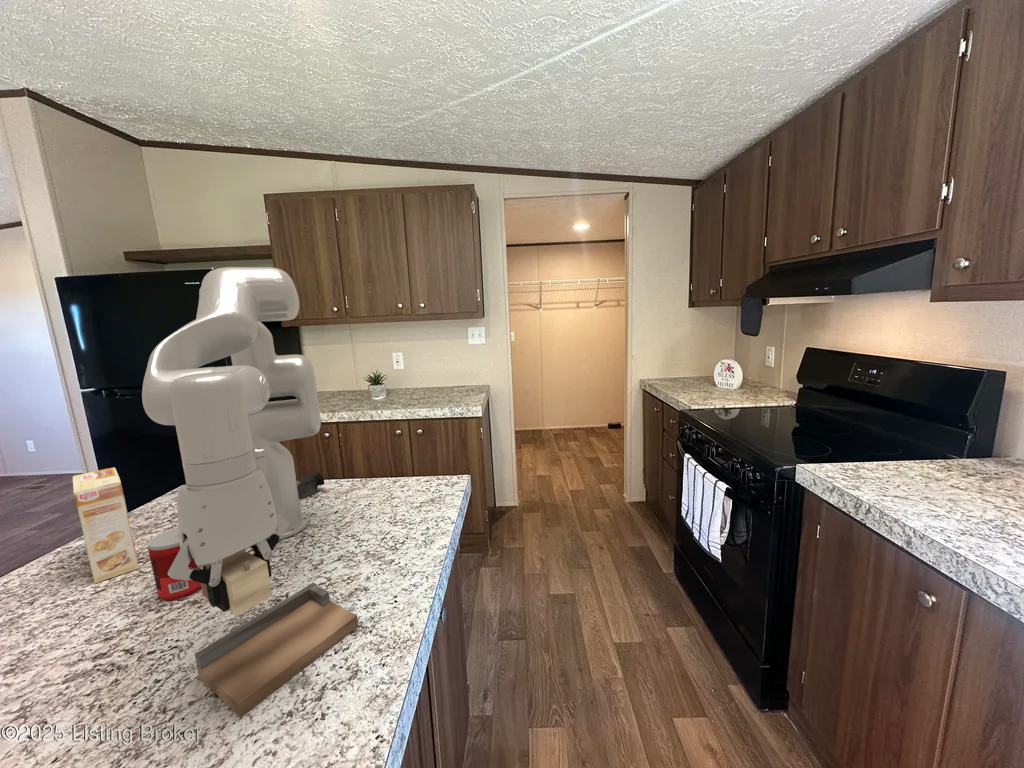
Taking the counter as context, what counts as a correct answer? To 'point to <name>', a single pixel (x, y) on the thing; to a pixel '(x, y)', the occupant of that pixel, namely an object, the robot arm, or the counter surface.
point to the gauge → (244, 581)
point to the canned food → (162, 558)
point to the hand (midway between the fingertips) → (242, 594)
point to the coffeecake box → (105, 523)
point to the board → (273, 647)
